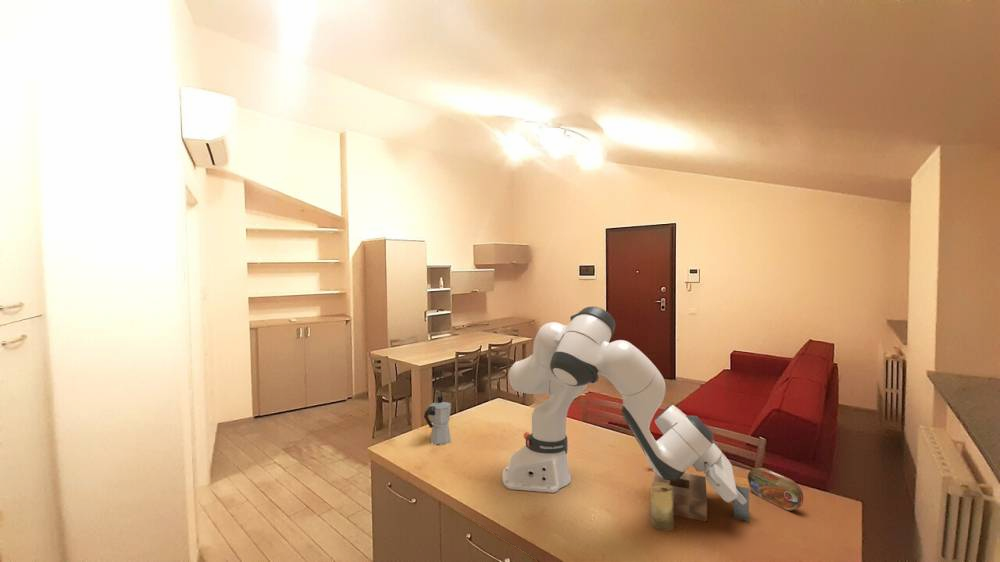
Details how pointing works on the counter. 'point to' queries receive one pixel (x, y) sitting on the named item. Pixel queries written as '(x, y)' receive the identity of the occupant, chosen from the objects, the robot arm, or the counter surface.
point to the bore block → (688, 495)
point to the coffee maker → (439, 421)
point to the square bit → (738, 508)
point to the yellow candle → (662, 506)
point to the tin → (775, 488)
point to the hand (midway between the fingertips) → (743, 497)
